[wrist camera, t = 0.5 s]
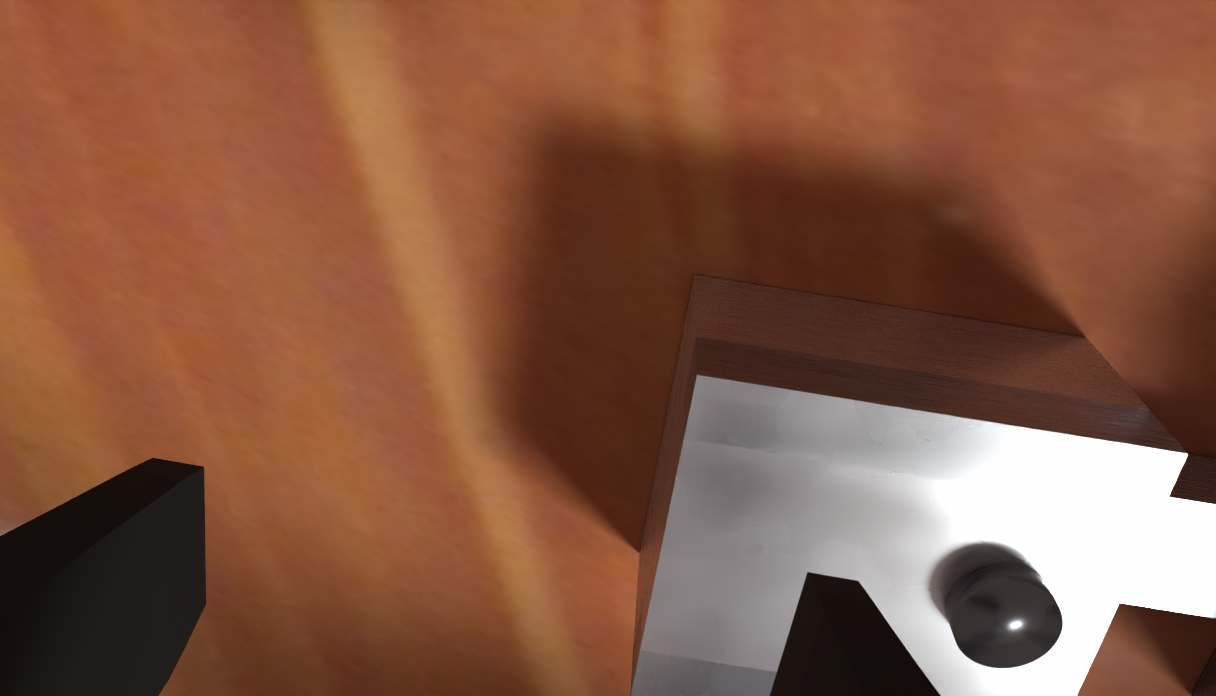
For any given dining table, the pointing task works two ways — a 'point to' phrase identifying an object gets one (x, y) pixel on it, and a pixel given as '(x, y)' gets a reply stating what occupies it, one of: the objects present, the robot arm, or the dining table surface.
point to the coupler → (1183, 555)
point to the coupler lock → (891, 492)
